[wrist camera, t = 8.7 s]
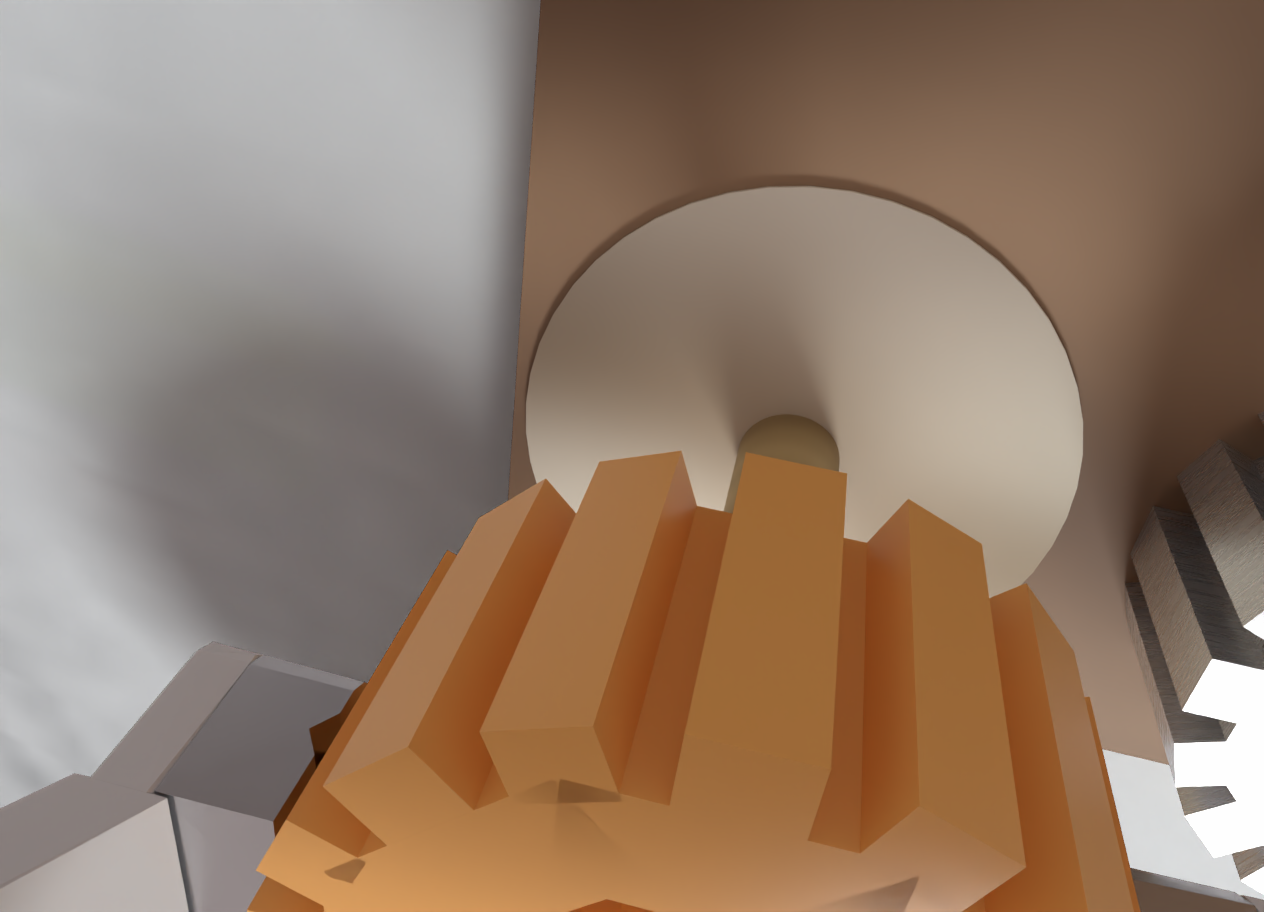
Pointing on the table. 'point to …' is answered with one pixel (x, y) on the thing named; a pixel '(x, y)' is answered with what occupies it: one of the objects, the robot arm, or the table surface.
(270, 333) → the table surface
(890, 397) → the gear board
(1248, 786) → the gear
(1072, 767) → the gear
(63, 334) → the table surface
